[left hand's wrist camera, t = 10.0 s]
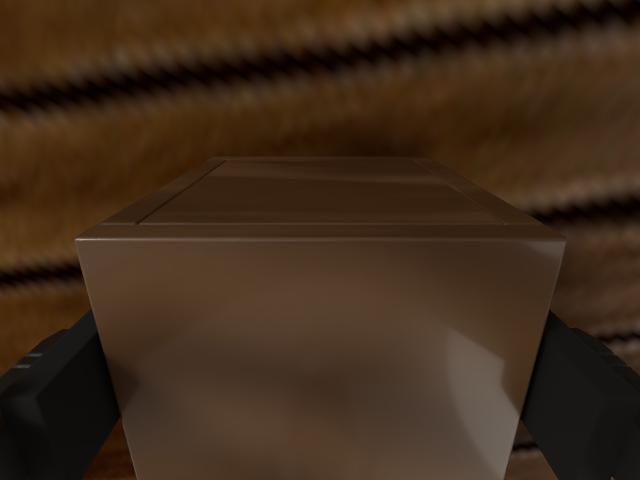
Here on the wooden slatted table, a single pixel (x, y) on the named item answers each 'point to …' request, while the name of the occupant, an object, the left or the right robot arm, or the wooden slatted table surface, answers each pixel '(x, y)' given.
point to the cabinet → (320, 320)
